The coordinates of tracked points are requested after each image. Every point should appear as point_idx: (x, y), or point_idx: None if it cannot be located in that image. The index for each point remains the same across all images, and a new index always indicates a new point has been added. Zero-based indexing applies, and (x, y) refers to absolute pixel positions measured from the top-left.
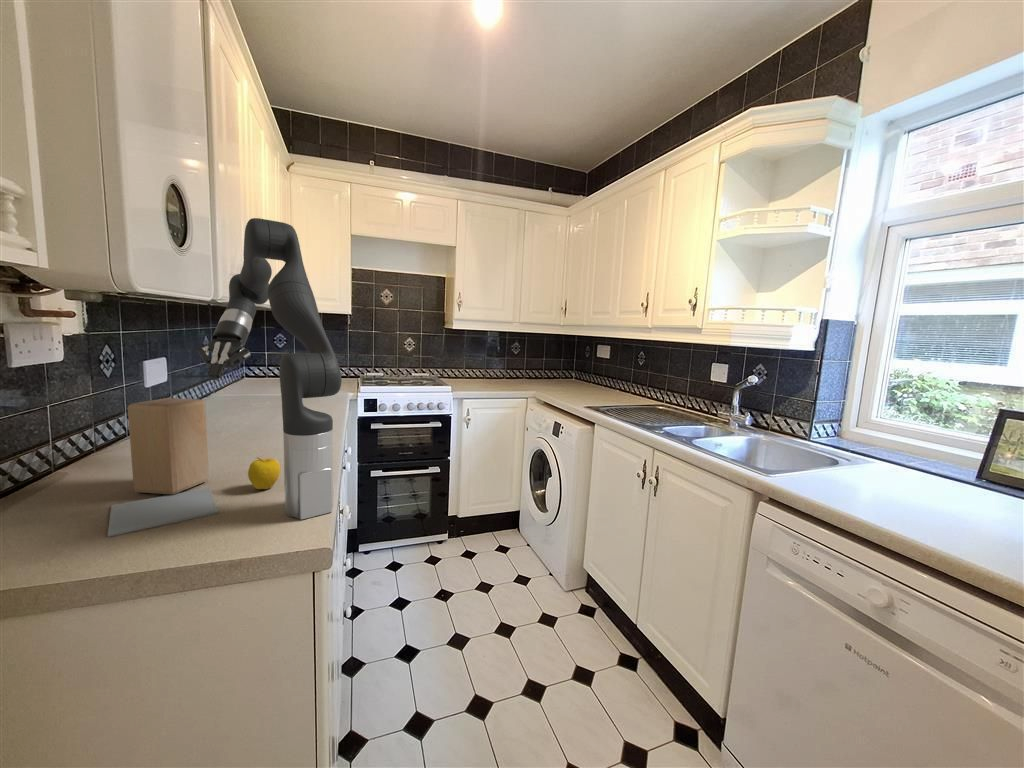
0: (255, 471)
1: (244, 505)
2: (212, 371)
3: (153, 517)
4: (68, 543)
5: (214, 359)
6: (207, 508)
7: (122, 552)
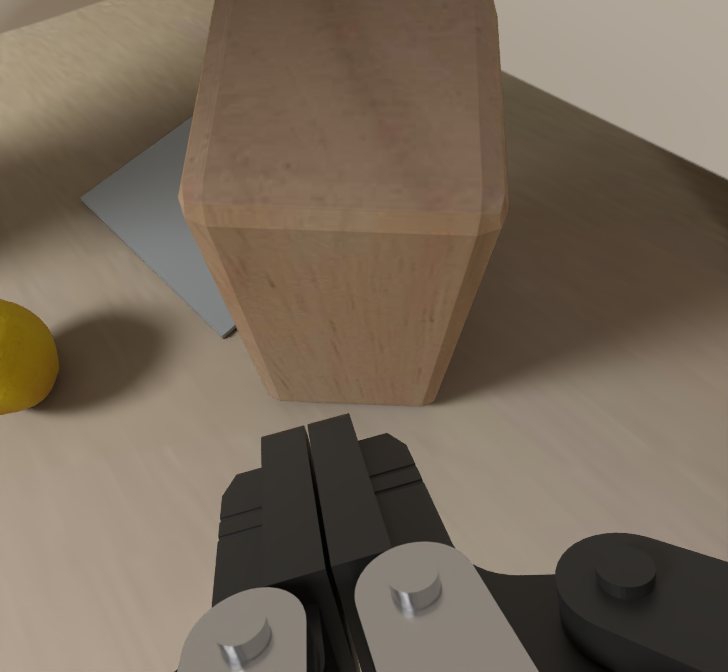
0: None
1: (33, 253)
2: (325, 451)
3: None
4: None
5: (438, 645)
6: (119, 205)
7: (170, 40)
